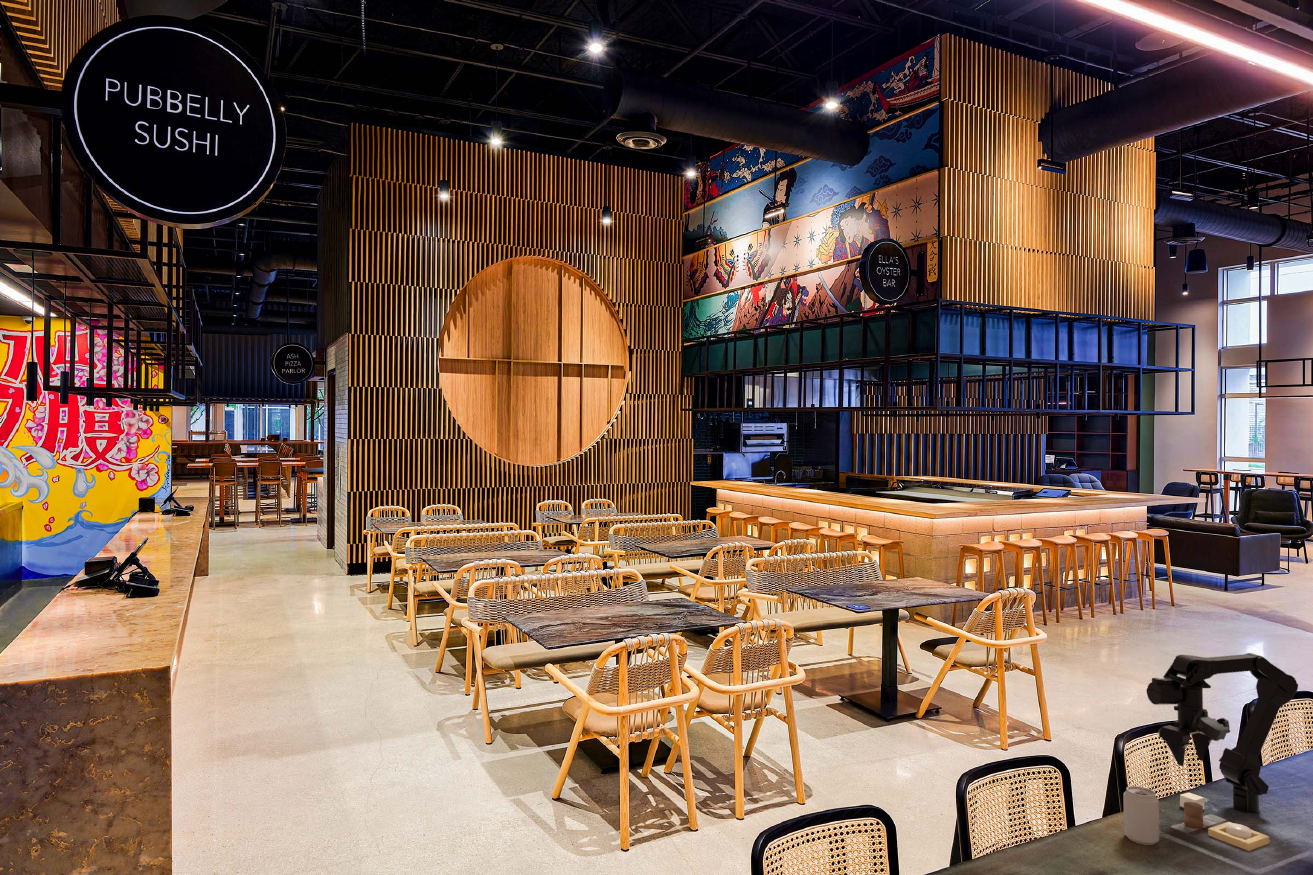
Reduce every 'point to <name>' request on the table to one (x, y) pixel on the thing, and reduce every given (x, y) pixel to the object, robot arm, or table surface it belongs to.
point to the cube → (1191, 799)
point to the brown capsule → (1193, 815)
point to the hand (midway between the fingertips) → (1191, 762)
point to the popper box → (1248, 844)
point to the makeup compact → (1205, 822)
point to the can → (1141, 815)
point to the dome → (1238, 830)
